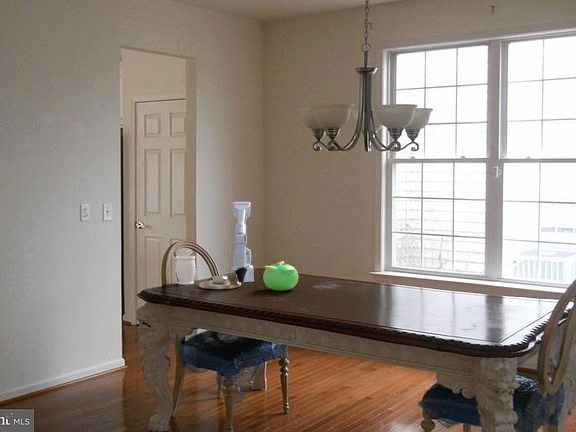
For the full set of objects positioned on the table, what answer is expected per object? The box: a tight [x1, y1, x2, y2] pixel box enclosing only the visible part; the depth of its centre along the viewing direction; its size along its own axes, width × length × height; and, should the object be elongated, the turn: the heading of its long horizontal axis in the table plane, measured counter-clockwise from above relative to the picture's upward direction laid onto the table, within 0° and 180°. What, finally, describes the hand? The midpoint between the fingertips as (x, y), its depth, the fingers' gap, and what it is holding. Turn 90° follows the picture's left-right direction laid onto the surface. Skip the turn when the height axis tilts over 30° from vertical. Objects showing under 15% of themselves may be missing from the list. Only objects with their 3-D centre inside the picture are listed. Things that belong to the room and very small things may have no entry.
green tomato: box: [262, 260, 299, 292], centre depth 367 cm, size 18×17×15 cm
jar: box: [175, 254, 196, 286], centre depth 391 cm, size 11×10×15 cm
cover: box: [212, 275, 229, 285], centre depth 381 cm, size 8×8×4 cm
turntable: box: [198, 276, 242, 290], centre depth 381 cm, size 22×22×5 cm
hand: (240, 282), depth 377 cm, fingers closed
